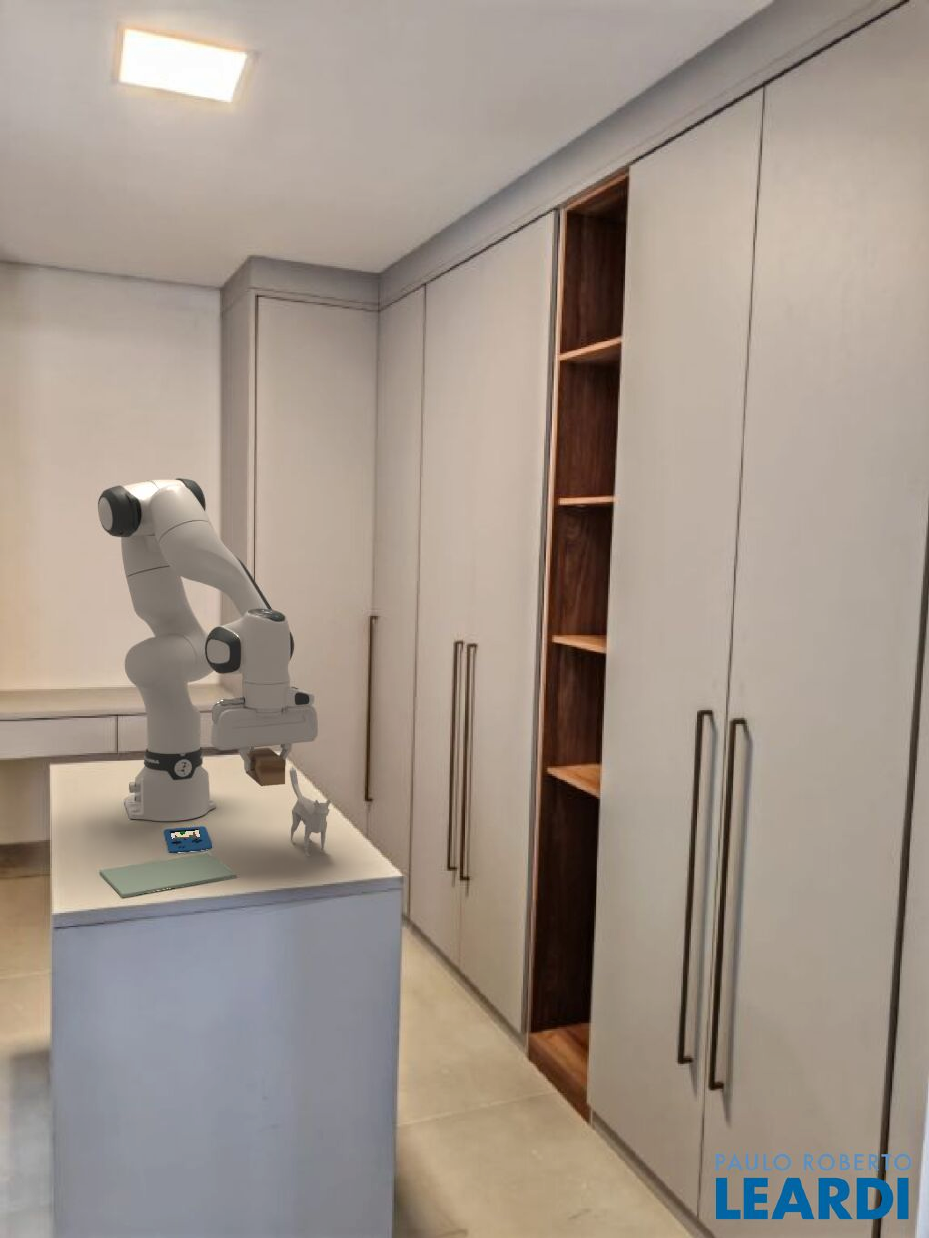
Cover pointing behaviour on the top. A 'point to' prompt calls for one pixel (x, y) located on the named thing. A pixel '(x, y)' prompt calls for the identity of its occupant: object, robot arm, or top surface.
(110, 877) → the rubber mat
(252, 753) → the walnut block
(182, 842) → the handheld gaming device
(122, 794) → the top surface
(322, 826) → the cat figurine
